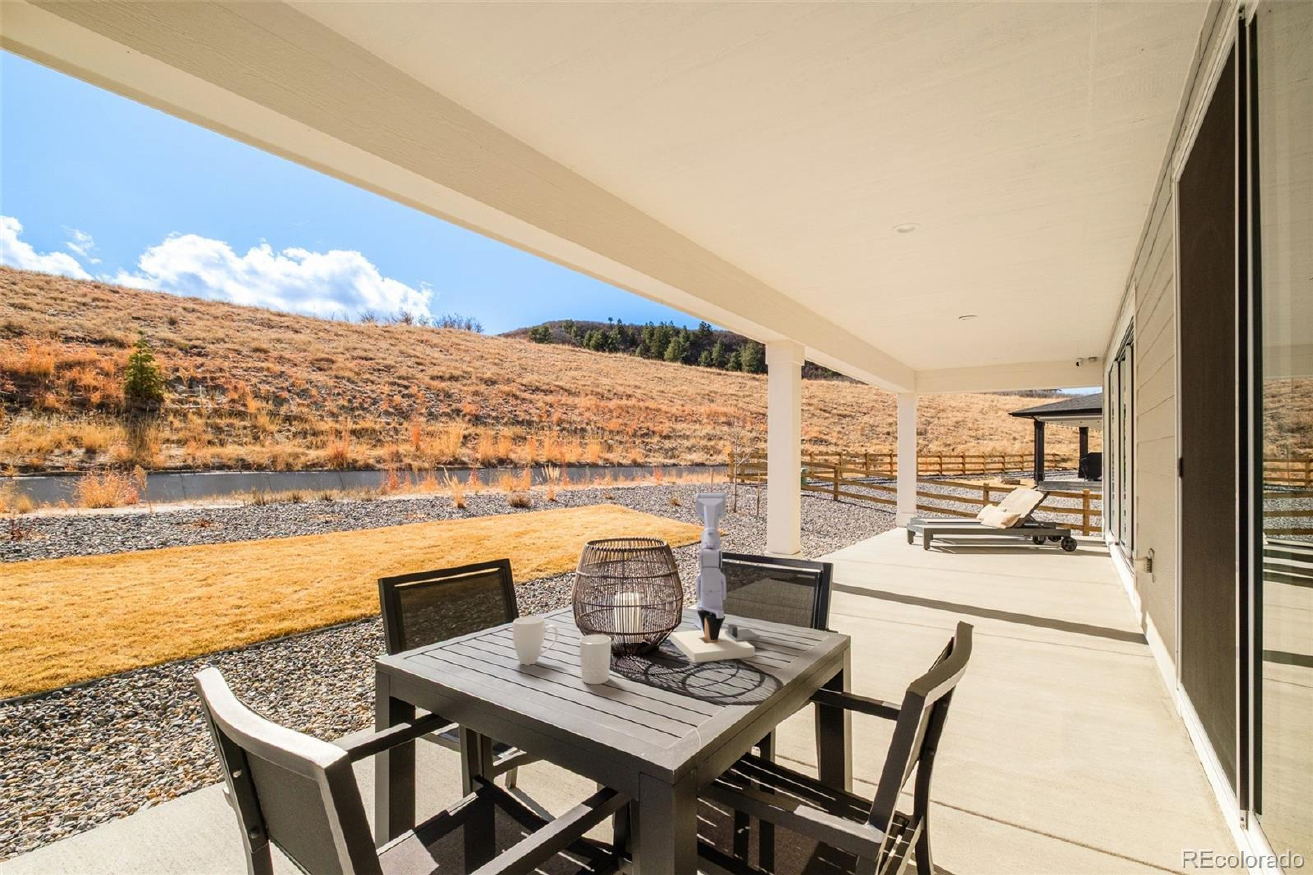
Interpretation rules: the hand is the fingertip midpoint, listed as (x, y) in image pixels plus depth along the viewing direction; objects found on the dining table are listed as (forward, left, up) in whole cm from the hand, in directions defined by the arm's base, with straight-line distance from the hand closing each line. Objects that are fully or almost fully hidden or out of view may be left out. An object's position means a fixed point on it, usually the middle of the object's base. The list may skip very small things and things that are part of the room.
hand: (710, 637), depth 172 cm
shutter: (0, +10, -1) cm, 10 cm away
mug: (-3, -50, -3) cm, 50 cm away
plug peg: (0, 0, -2) cm, 2 cm away
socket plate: (0, 0, -3) cm, 3 cm away
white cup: (+14, -37, -3) cm, 40 cm away
